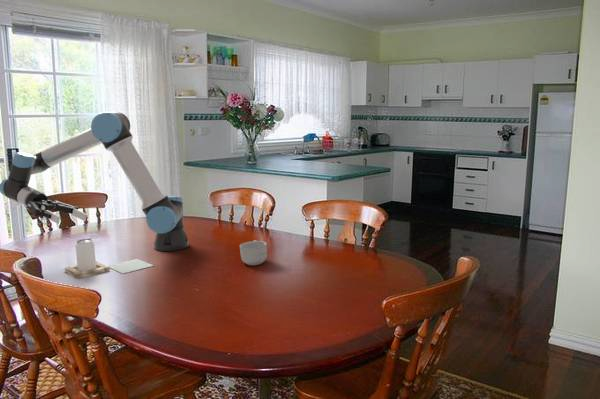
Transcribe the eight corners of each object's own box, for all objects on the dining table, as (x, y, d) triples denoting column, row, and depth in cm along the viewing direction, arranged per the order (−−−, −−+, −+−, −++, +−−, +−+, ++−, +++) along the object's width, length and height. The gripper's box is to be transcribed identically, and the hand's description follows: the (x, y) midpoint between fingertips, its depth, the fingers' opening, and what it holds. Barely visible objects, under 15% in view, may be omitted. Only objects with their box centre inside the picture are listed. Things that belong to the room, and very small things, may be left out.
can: (100, 269, 192) (97, 239, 190) (86, 274, 187) (83, 243, 184) (87, 267, 195) (85, 237, 193) (74, 272, 189) (71, 241, 187)
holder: (95, 264, 199) (95, 260, 199) (109, 270, 191) (109, 267, 191) (64, 271, 190) (64, 267, 190) (78, 278, 182) (77, 274, 182)
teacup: (263, 268, 193) (262, 248, 192) (236, 266, 195) (235, 246, 194) (272, 257, 207) (271, 239, 205) (247, 256, 209) (246, 237, 207)
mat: (137, 259, 205) (136, 258, 205) (153, 266, 196) (153, 265, 196) (106, 266, 196) (106, 266, 196) (122, 274, 187) (122, 273, 187)
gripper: (55, 206, 211) (93, 225, 204) (2, 209, 187) (43, 230, 181) (60, 190, 210) (98, 208, 203) (7, 190, 186) (48, 211, 180)
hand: (72, 218), depth 192 cm, fingers open, 13 cm apart
